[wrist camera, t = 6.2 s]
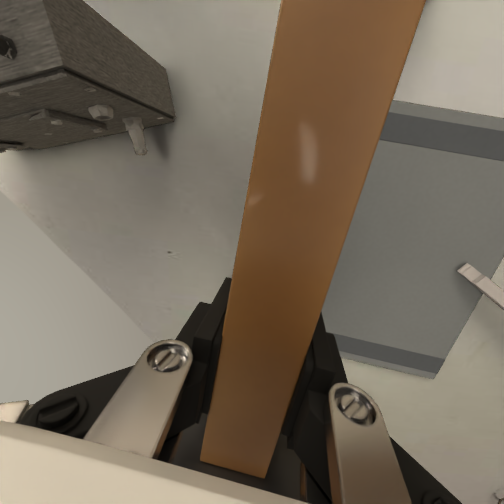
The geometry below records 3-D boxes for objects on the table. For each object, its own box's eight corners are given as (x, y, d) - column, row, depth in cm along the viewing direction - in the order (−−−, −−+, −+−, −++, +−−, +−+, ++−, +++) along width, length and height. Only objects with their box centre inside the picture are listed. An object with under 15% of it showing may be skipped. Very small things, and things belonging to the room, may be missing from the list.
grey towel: (292, 342, 27) (292, 346, 27) (363, 97, 19) (365, 95, 18) (430, 375, 26) (434, 380, 26) (567, 130, 18) (577, 129, 17)
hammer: (165, 407, 13) (118, 501, 10) (209, -74, 7) (113, -375, 3) (311, 446, 13) (321, 562, 9) (508, -31, 6) (842, -328, 3)
